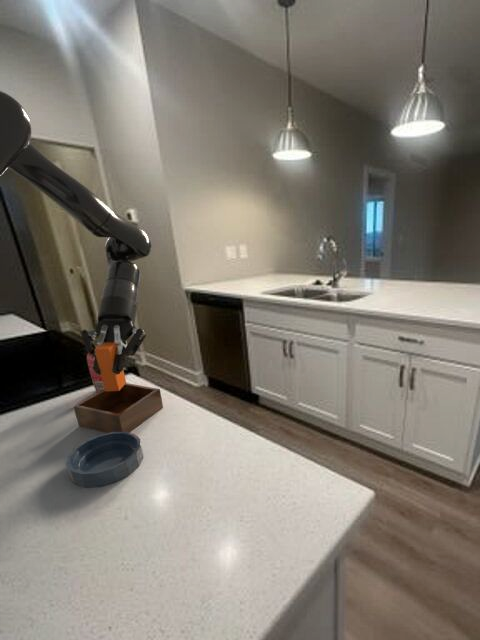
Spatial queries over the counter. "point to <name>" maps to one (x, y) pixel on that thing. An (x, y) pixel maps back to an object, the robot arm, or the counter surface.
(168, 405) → the counter surface
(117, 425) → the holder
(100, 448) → the bowl
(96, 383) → the soda can
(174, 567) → the counter surface
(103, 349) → the block
